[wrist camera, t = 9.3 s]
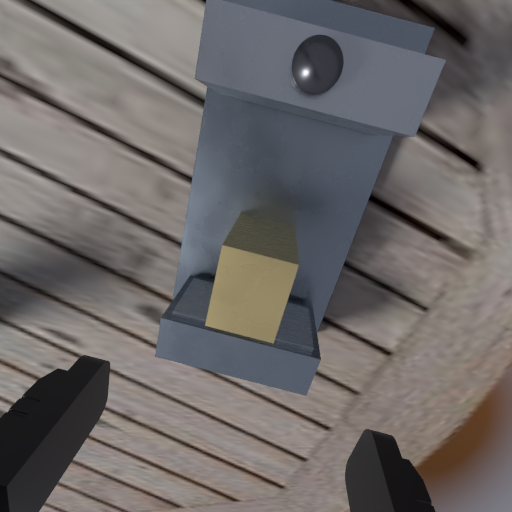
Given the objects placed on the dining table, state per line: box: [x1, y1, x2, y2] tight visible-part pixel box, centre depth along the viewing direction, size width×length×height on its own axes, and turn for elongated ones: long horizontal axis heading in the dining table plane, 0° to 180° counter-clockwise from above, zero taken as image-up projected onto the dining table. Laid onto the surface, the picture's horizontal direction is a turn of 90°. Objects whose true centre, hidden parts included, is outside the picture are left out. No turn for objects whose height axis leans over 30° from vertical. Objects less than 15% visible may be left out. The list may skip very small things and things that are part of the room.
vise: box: [155, 0, 435, 396], centre depth 19 cm, size 22×12×7 cm, turn 166°
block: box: [205, 212, 299, 343], centre depth 20 cm, size 5×4×7 cm
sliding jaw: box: [195, 0, 446, 137], centre depth 15 cm, size 3×10×7 cm, turn 76°
